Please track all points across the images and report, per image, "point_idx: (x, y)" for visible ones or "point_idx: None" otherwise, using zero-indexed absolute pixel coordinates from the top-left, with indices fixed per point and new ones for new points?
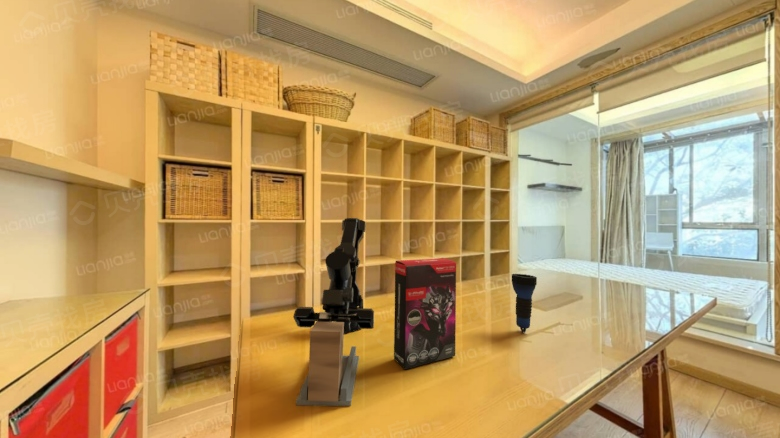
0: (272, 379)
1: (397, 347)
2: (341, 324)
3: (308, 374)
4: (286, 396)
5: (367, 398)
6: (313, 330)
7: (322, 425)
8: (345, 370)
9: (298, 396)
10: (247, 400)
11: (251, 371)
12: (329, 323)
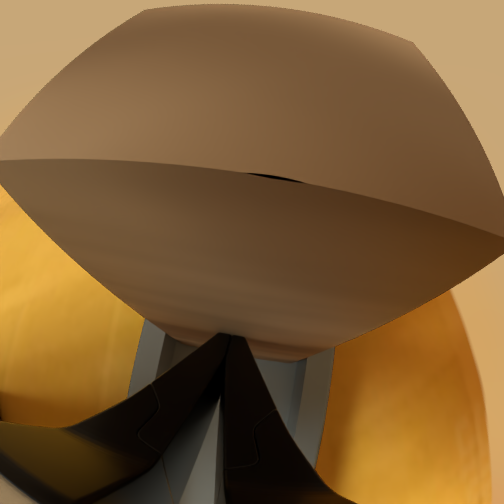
0: (427, 428)
1: None
2: (52, 88)
3: (326, 369)
4: (371, 345)
5: (110, 296)
6: (392, 36)
7: None
8: (154, 377)
9: None
10: (454, 330)
11: (476, 451)
12: (232, 93)
